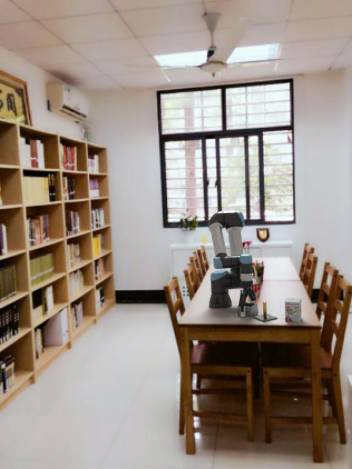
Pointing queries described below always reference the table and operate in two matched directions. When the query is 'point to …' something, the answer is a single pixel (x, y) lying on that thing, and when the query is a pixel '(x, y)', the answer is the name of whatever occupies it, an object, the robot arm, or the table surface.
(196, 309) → the table surface
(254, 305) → the link
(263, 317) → the post
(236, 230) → the robot arm
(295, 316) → the ink box
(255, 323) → the table surface
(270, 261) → the table surface
